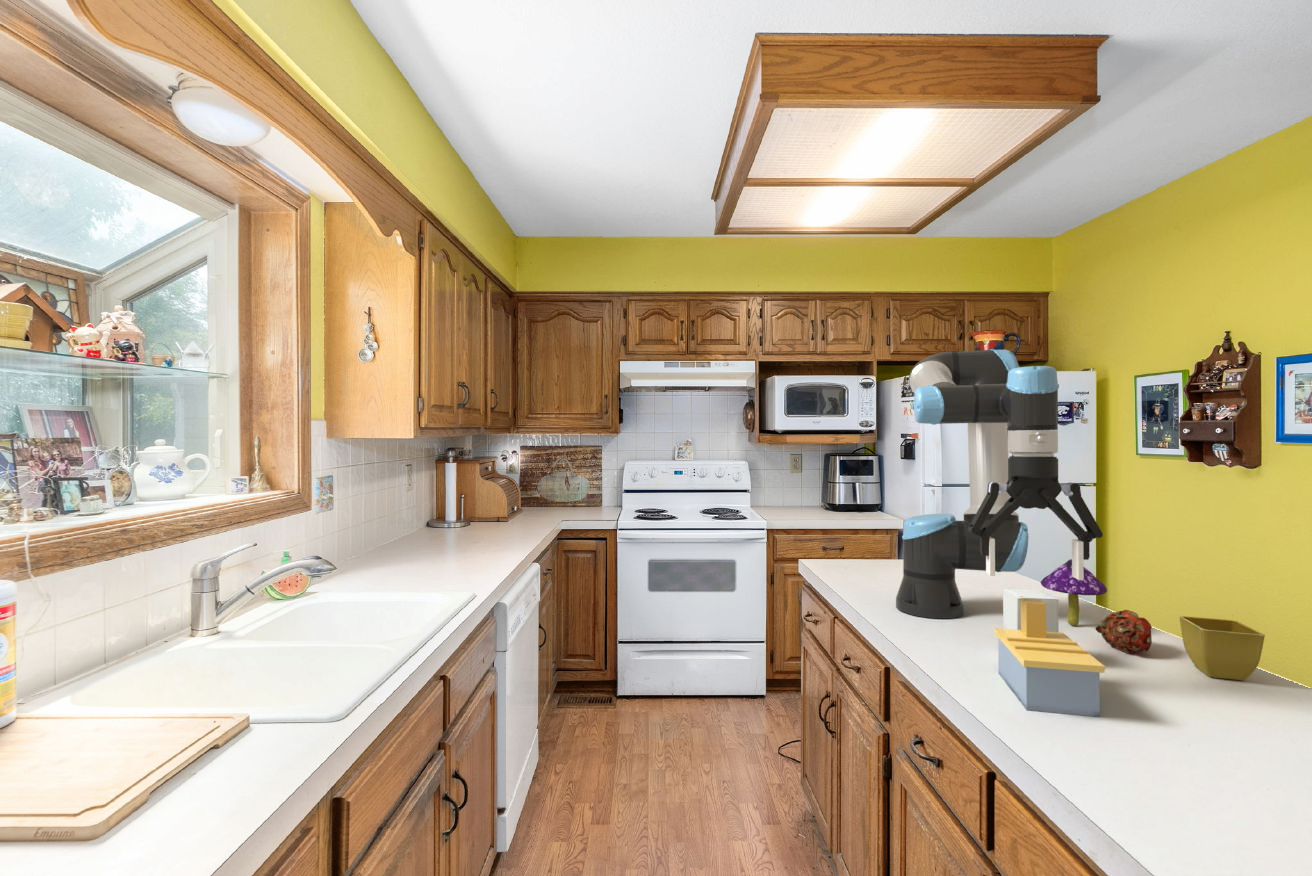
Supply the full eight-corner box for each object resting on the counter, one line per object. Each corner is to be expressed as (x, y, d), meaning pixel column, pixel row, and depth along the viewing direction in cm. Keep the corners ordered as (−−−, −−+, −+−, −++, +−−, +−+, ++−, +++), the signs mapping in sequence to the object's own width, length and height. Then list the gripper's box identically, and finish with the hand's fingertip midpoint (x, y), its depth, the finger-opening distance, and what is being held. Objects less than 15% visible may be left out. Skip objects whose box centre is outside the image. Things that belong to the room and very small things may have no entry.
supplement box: (1060, 666, 113) (1059, 599, 113) (1016, 664, 115) (1016, 597, 115) (1043, 652, 120) (1043, 589, 120) (1002, 650, 122) (1002, 587, 122)
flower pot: (1236, 668, 112) (1236, 619, 112) (1266, 687, 104) (1266, 634, 103) (1178, 662, 115) (1178, 615, 115) (1202, 680, 106) (1202, 629, 106)
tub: (998, 673, 110) (998, 634, 110) (1061, 678, 108) (1061, 638, 108) (1026, 709, 96) (1026, 665, 96) (1099, 716, 93) (1099, 671, 93)
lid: (994, 636, 111) (994, 595, 111) (1063, 641, 108) (1063, 598, 108) (1023, 670, 95) (1023, 621, 95) (1104, 676, 93) (1104, 626, 93)
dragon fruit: (1130, 668, 116) (1114, 656, 127) (1174, 646, 114) (1154, 636, 125) (1096, 627, 119) (1084, 619, 130) (1139, 605, 117) (1123, 599, 128)
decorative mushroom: (1039, 628, 135) (1039, 561, 135) (1041, 614, 145) (1041, 551, 145) (1109, 638, 128) (1109, 567, 128) (1106, 622, 139) (1105, 557, 138)
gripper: (959, 455, 106) (960, 577, 106) (1125, 455, 100) (1126, 585, 100) (950, 454, 114) (951, 568, 114) (1104, 454, 107) (1105, 575, 107)
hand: (1033, 576), depth 107 cm, fingers open, 13 cm apart
